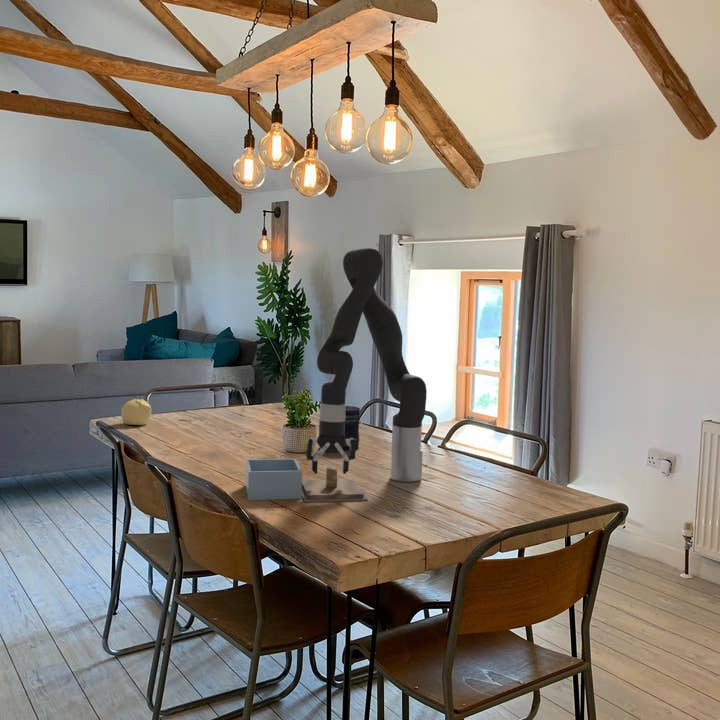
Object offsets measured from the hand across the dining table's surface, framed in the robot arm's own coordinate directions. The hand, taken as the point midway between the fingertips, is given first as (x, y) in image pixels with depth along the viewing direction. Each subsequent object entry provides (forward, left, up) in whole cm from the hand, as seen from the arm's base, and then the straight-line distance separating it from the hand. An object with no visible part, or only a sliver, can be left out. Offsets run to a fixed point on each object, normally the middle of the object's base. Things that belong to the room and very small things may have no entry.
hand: (329, 473), depth 226 cm
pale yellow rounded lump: (+63, -107, -6) cm, 124 cm away
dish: (+16, -2, -6) cm, 18 cm away
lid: (-1, 0, -5) cm, 5 cm away
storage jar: (-16, -59, -6) cm, 61 cm away
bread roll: (+16, -20, -6) cm, 26 cm away
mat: (-1, 0, -6) cm, 6 cm away
